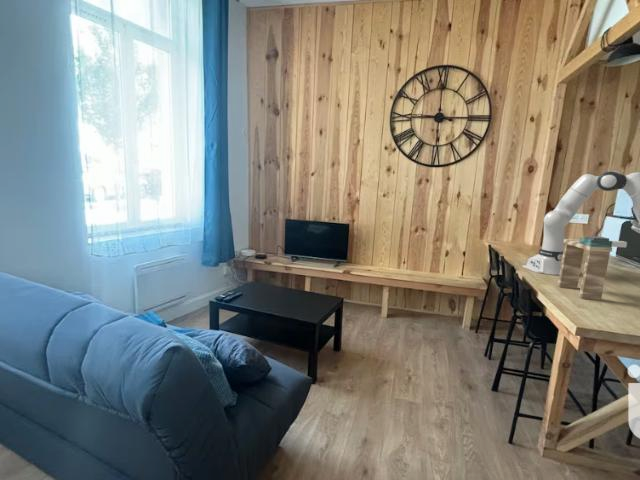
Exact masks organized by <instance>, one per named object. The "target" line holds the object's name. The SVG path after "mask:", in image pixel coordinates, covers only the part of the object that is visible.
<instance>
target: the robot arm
mask: <svg viewBox="0 0 640 480" xmlns="http://www.w3.org/2000/svg"><path fill="white" fill-rule="evenodd" d="M599 189H600V190H602V191H604V192H612V191H616V190H623V191H624V192H626V194H627V195H628V196H629V198H630V199H631V202H632V207H631V208H630V210H631V214H632V216H633V218H634V219H632V220H631V222H630V224H632V226H631V227H630V228H631V230H632V231H634V232H636V233H638V234H640V171H639V172H638V171H636V172H632V173H628V174H626V175H624V174H621V173H620V172H619V171H617V170H616V171H615V170H608V171H605V172H602V173H600V175H599V176H598V175H597V176H596V175H594V174H592V173H590V174H589V173H585V174H582V175H581V176H580V177H578V179H577V180H575V181H574V183H573V184H571V186H570V188H568V190H567V191H566V192H565V193H564V195H562V197H561V198H560V200H559V202H558V203H557V205H556V206H555V208H554V209H553V210H550V211H548V212H547V213H546V214H545V215H544V217H543V237H542V238H543V239H542V245H541V248H539V249H538V248H537V252H538V253H537V254H535V255H534V256H531V257H529V258H528V260H527V263H526V264H523V265H522V268H525V269H527V270H529V271H532V272H535V273H537V274H545V275H546V274H547V275H554V276H555V275H556V276H559V275H560V269H561V263H562V256H563V250H564V244H565V243H564V239H566V238H565V233H566V232H565V229H566V226H567V225H568V224H569V223H570V222H571V220H572V219H573V218H574V217H575V215H576V214H577V212H578V211H579V210H580V209H581V207H583V205H584V204H585V203H586V201H587V200H588V199H590V197H591V196H592V194H593V193H594V192H595V191H597V190H599Z"/></svg>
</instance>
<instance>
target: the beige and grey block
mask: <svg viewBox="0 0 640 480" xmlns="http://www.w3.org/2000/svg"><path fill="white" fill-rule="evenodd" d="M586 238H587V239H590V240H601V241H610V238H608V237H604V236H594V235H593V236H591V235H590V236H589V235H587V236H586ZM611 241H612V248H613V247H614V248H627V246H628V242H627V241H623V240H611Z"/></svg>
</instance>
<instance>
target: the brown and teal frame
mask: <svg viewBox="0 0 640 480" xmlns="http://www.w3.org/2000/svg"><path fill="white" fill-rule="evenodd" d="M612 241H613V240H609V241H601V240H590V239H587V237H584V236H583V237H580V238H579V239H573V238H571V239H570V238H567V239H566V238H565V239H564V246H563V256H562V261H561V269H560V275H558V282H557V287H558V288H561V289H562V288H563V289H576V290H577V289H578V286H579V280H580V275H581V269H582V264H583V258H584V252H585V250H586V256H585V262H584V269H583V273H582V278H581V279H582V280H581V284H580V289H579V294H578V299H581V300H593V301H602V297H603V291H604V287H605V280H606V276H607V270H608V265H609V260H610V256H611V252H612V251H613V247H612Z"/></svg>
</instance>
